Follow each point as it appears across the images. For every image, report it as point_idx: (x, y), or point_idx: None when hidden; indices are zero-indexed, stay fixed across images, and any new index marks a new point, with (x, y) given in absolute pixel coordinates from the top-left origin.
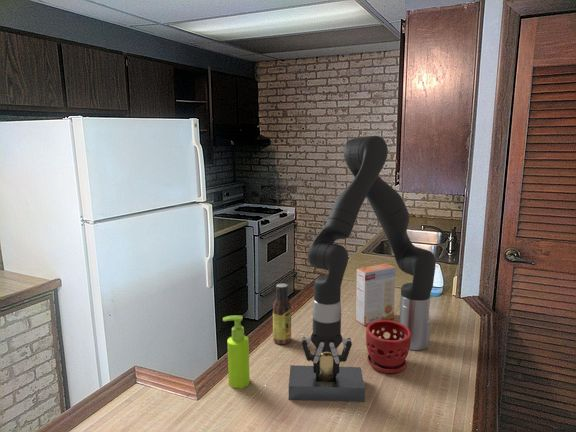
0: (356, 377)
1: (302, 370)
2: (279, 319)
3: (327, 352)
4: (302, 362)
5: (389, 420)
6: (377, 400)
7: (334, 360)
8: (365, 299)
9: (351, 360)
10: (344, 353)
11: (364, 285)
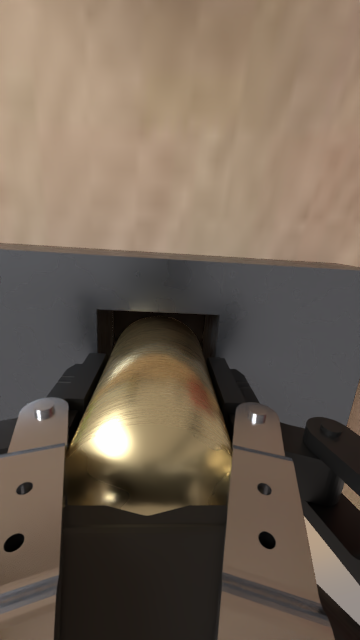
0: (326, 377)
1: (5, 309)
2: None
3: (163, 499)
4: (20, 48)
5: (351, 490)
6: (354, 402)
7: (227, 413)
8: None
9: (354, 33)
10: (356, 574)
11: None
